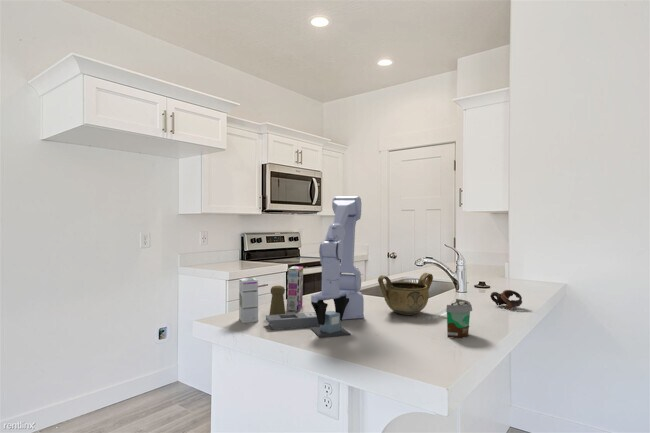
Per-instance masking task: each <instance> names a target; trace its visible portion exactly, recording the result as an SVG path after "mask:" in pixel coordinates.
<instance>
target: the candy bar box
mask: <svg viewBox="0 0 650 433" xmlns="http://www.w3.org/2000/svg"><path fill="white" fill-rule="evenodd" d="M286 275H287V277H286V278H287V279H286V280H287V281H286V282H287V283H286V309H285V312H292V313H298V312H299V311H300V309H301V308H302V307H303V295H304V294H303V290H304V289H303V288H304V287H303V286H304V266H301V265H300V266H299V265H298V266H297V265H294V266H290V267H288V268H287V274H286Z"/></svg>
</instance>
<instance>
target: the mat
mask: <svg viewBox="0 0 650 433" xmlns="http://www.w3.org/2000/svg"><path fill="white" fill-rule="evenodd" d="M310 330H311V331H312V332H313V333H314V334H315V335H316V336H317V337H318V338H320V339H323V338H334V337H335V338H336V337H343V336H345V337H346V336H351V335H352V333H351V332H350V331H348V330H346V328H344V327H343V326H341V325H340V331H337V332H333V333H327V332H324V331H321V330H320V326H314V327H310Z"/></svg>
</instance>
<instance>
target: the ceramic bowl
mask: <svg viewBox="0 0 650 433" xmlns="http://www.w3.org/2000/svg"><path fill="white" fill-rule="evenodd" d="M384 280H385V282H386V283H385V284H384ZM433 280H434V276H433V274H432V273H429V272H423V273H422V274H421V275H420V277H419V279H418V282H412V281H391V278H389V277H388V276H387V275H383V274H382V275H381V274H380V275H379V277H378V278H377V283H378V285H379V288H380V290H381V292H382V295H383V298H384V301H385V303H386V305H387V306H388V307H389V309H390V310H392V311H393V312H395V313H397V314H398V315H403V316H411V315H415V314H417V313H420V312H421V311H422V310H424V309H425V307H426V306H427V304H428V301H429V290H430V288H431V285H432V283H433Z"/></svg>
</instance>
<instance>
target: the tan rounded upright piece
mask: <svg viewBox="0 0 650 433" xmlns="http://www.w3.org/2000/svg"><path fill="white" fill-rule="evenodd" d="M285 292H286V289H285V286H282V285H274V286H271V288H270V294H271V301H270V308H269V314H268V315H280V314H286V308H285V307H286V306H285V300H284V299H285V298H284V295H285Z"/></svg>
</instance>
